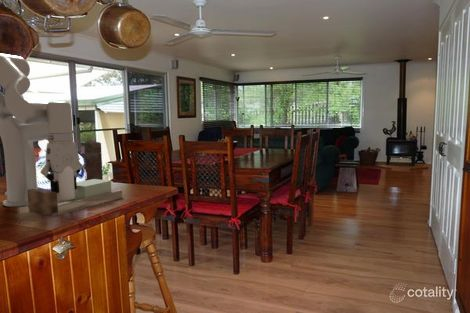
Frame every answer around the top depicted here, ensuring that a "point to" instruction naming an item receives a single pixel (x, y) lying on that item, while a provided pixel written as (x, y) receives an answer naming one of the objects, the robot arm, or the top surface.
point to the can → (66, 185)
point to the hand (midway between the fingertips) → (64, 190)
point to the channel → (63, 202)
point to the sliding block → (91, 188)
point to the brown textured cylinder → (93, 160)
